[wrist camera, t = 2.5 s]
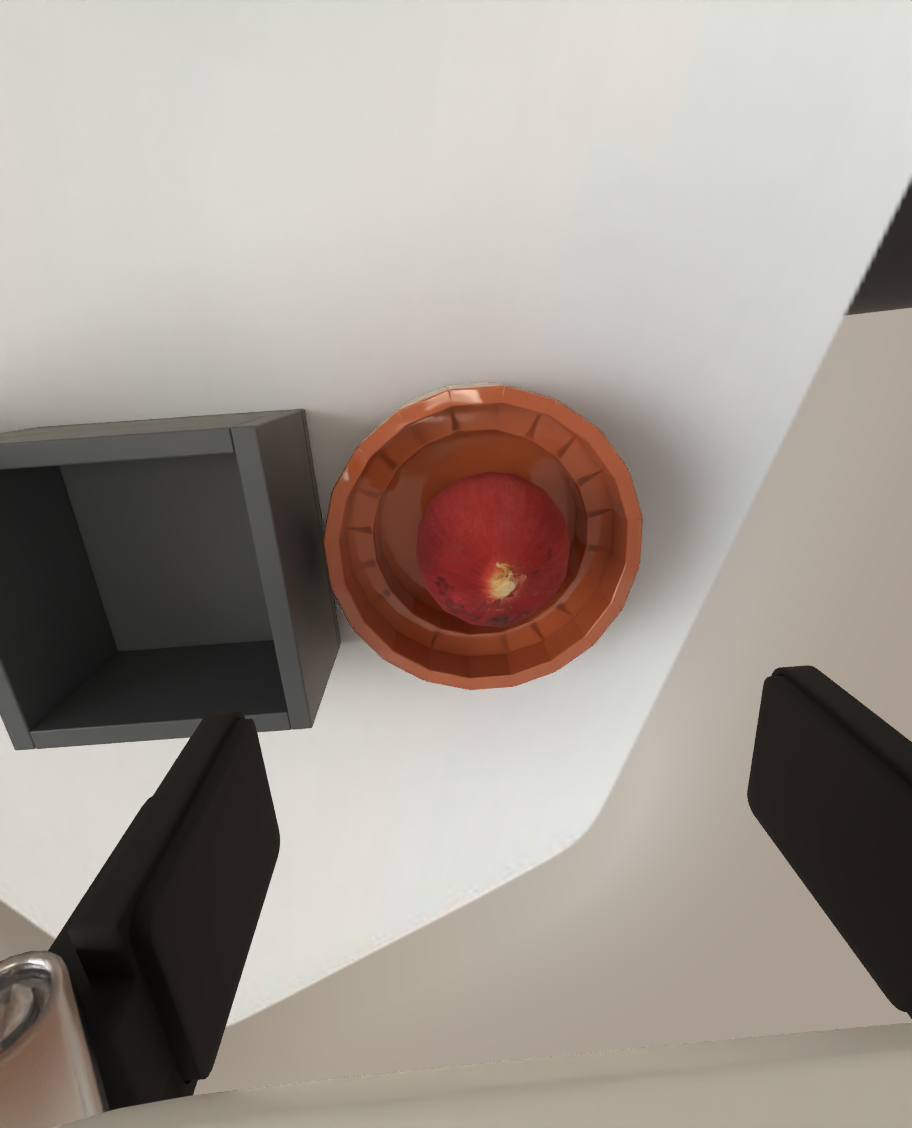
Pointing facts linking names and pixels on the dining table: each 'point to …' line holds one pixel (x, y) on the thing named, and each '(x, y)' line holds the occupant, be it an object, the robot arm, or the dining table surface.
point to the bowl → (429, 466)
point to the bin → (161, 578)
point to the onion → (492, 549)
